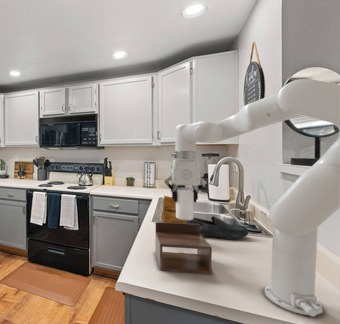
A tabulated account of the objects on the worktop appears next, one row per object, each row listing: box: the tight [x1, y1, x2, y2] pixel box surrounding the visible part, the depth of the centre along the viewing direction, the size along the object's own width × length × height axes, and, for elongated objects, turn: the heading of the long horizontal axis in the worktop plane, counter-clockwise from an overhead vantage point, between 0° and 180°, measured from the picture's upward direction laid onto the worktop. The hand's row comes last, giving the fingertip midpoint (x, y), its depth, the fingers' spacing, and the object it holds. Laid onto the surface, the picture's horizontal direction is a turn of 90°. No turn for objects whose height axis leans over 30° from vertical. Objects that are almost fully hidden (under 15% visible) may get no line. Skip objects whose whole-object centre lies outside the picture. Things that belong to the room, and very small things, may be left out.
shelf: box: [154, 221, 213, 275], centre depth 89 cm, size 14×18×14 cm
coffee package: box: [161, 195, 186, 223], centre depth 113 cm, size 10×12×22 cm
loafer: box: [187, 215, 249, 240], centre depth 117 cm, size 10×29×10 cm, turn 81°
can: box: [176, 186, 195, 221], centre depth 88 cm, size 6×6×12 cm
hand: (184, 200), depth 88 cm, fingers closed on can, 6 cm apart
